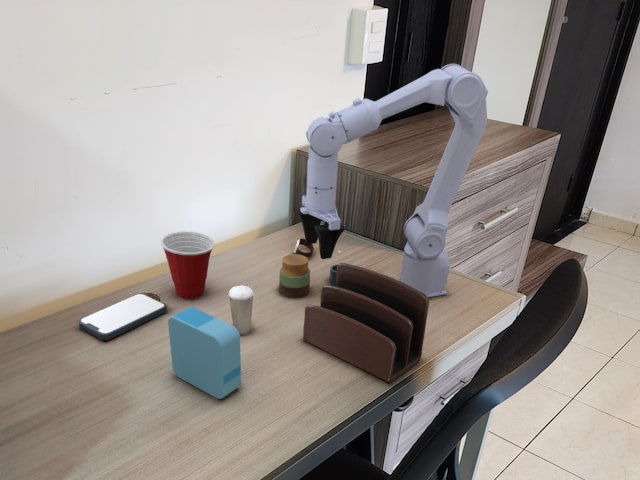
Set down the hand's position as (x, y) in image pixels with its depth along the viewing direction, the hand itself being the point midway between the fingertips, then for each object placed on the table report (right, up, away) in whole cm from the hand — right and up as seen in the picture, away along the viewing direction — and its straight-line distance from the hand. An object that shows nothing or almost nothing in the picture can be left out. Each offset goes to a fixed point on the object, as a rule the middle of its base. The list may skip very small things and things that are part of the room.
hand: (318, 250), depth 126 cm
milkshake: (-15, -17, -8) cm, 24 cm away
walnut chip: (-5, -8, +6) cm, 11 cm away
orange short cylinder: (-5, -4, +3) cm, 7 cm away
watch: (-2, +3, +22) cm, 22 cm away
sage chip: (-5, -6, +5) cm, 9 cm away
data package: (-20, -26, -22) cm, 40 cm away
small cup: (+5, -5, +10) cm, 12 cm away
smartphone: (-38, -15, -5) cm, 41 cm away
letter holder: (+7, -21, -13) cm, 25 cm away
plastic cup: (-27, -8, +5) cm, 28 cm away
